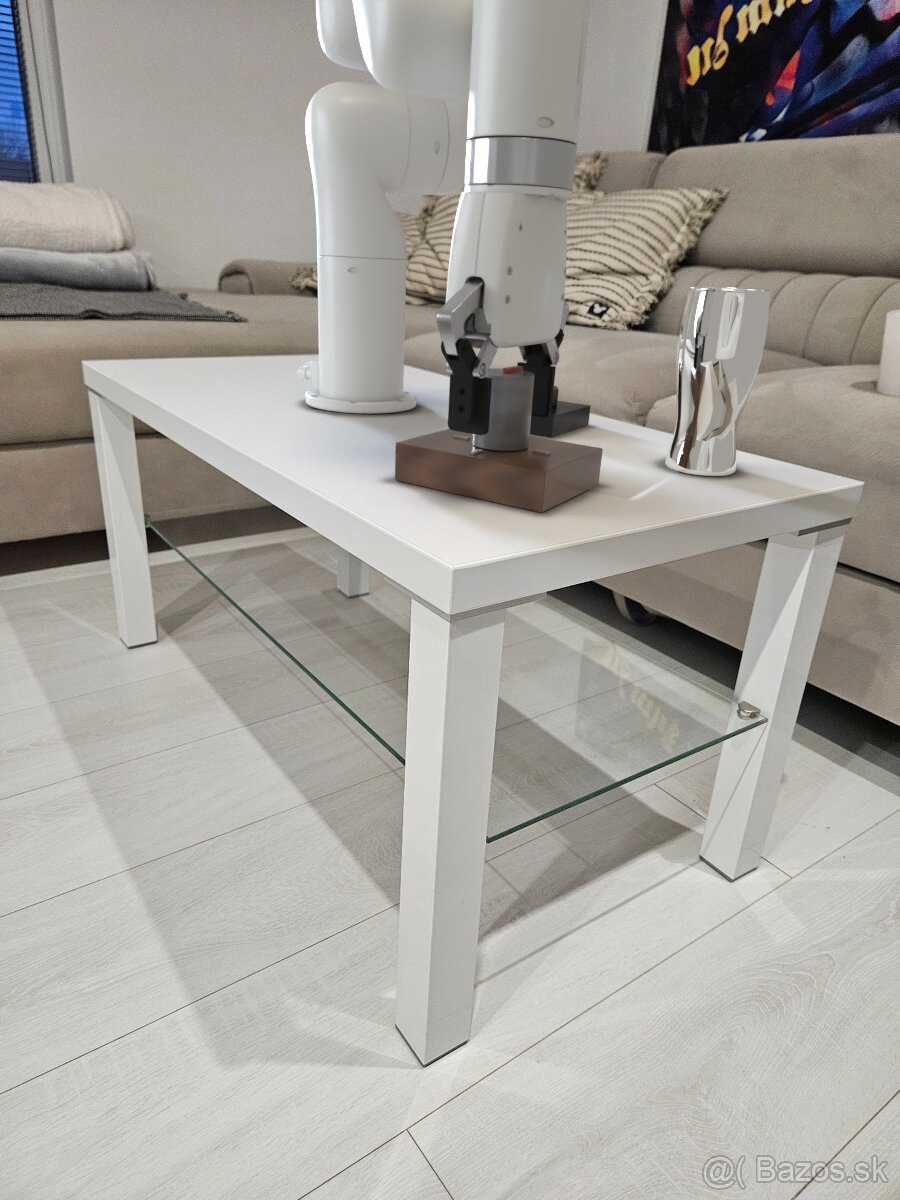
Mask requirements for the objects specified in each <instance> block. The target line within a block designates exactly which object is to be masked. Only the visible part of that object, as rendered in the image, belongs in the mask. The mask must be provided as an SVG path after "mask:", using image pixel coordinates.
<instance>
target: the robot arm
mask: <svg viewBox="0 0 900 1200" xmlns="http://www.w3.org/2000/svg"><path fill="white" fill-rule="evenodd" d="M591 2H592V1H591V0H315V11H316V23H317V25H316V26H317V34H318V39H319V43H320V46H321V48H322V51H323V53H324V54H325V55H326V57H327V58H328V59H329V60H330V61H332V62H333V63H335V64H337V65H339V66H342V67H344V68H349V69H352V70H353V69H354V70H358V71H365V72H369V73H370V75H371V76H372V77H373V79H374V80H375V81H376V82H377V83H373V82H371V83H370V82H362V81H350V80H349V81H338V82H332V83H330V84H329V83H328V84H327V85H325V86H323V87H321V88H320V89H318V90H317V91H316V92H315V93H314V94H313V96H312V97H311V99H310V101H309V103H308V106H307V109H306V114H305V138H306V147H307V153H308V158H309V159H308V160H309V164H310V172H311V177H312V185H313V193H314V204H315V205H314V206H315V224H316V260H317V263H316V265H317V266H316V267H317V270H316V271H317V321H318V323H317V325H318V326H317V327H318V359H314V360H306V361H304V362H303V365H299V366H298V367H297V369H296V376H297V377H298V378H299V379H305V380H311V384H312V385H311V389H309V390H308V391H306V392H305V403H306V405H308V406H310V407H312V408H315V409H319V410H323V411H329V412H335V413H346V414H365V415H367V414H370V415H371V414H375V415H376V414H393V413H402V412H405V411H410V410H413V409H414V408H416V406H417V403H418V402H417V395H415V394H414V393H413V392H410V391H407V390H404V381H405V379H404V378H405V377H404V376H405V339H406V338H405V337H406V335H405V334H406V329H405V328H406V292H407V291H406V290H407V239H406V234H405V230H404V227H403V225H402V223H401V220H400V219H399V217H398V215H397V213H396V211H395V210H394V208H393V207H392V205H391V204H390V202H389V200H388V198H387V197H386V194H394V193H396V194H397V193H400V194H409V195H410V194H411V195H425V196H449V195H453V194H456V193H458V192H460V191H461V190H462V189H463V188H464V191H462V192H461V193H460V198H459V201H458V206H457V210H456V214H455V215H456V216H455V220H454V225H453V232H452V238H451V244H450V252H449V260H448V261H449V262H448V272H447V280H446V281H447V282H446V293H445V303H444V304H443V305H442V306H441V307H440V308H439V309H438V311H436V314H435V315H436V317H435V321H436V325H437V328H438V333H439V337H440V341H441V343H440V351H441V353H442V355H443V357H444V359H445V361H446V362H445V372H446V373H447V374H448V375H449V391H448V393H449V394H448V411H447V412H448V414H447V427H448V429H451V430H454V431H459V432H465V433H470V434H476V435H484V434H487V433H488V431H489V418H490V403H491V387H492V378H487V377H485V376H486V374H487V372H488V370H489V369H490V367H491V365H492V363H493V361H494V358H495V356H496V354H497V353H498V350H499V349H509V348H517V347H518V349H519V352H520V355H521V358H522V361H518V362H517V363H516V364H517V365H516V366H523V371H528V372H532V373H534V374H535V377H534V389H533V401H532V413H531V415H532V416H538V417H548V416H550V415H551V412H552V401H553V391H554V386H555V378H556V368H557V367H556V366H557V365H558V364H559V361H560V351H559V349H560V347H561V345H562V343H563V341H564V337H565V333H564V330H565V328H566V327H565V326H566V323H567V320H568V316H569V314H570V306H569V304H568V303H567V302H566V300H565V292H566V281H567V280H566V279H567V278H566V277H567V276H566V275H567V256H568V205H567V204H568V202H567V201H572V200H573V194H574V193H573V190H574V181H575V180H574V179H575V171H576V169H575V168H576V160H577V150H578V149H577V148H578V147H577V146H578V137H579V126H580V118H581V117H580V116H581V106H582V96H583V95H582V94H583V84H584V73H585V63H586V51H587V42H588V32H589V22H590V21H589V20H590V10H591ZM474 349H479V351H478V353H476V352H475V350H474Z"/></svg>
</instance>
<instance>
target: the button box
mask: <svg viewBox="0 0 900 1200" xmlns="http://www.w3.org/2000/svg"><path fill="white" fill-rule="evenodd" d="M590 414H591V404H590V405H589V404H582V403H577V402H576V403H575V402H570V401H569V402H568V401H562V400H559V387H558V386H556V385H554V391H553V401H552V412H551V415H550V416H548V417H538V416H532V415H531V425H530V436H536V437H537V436H538V437H542V438H548V439H553V438H556V437H558V436H562V435H564V434H567V433H570V432H573V431H576V430H579V429H583V428H584V427H587V426H589V425H590V424H589V422H590Z"/></svg>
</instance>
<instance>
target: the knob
mask: <svg viewBox="0 0 900 1200" xmlns="http://www.w3.org/2000/svg"><path fill="white" fill-rule="evenodd" d="M485 377H487V378H492V387H491V403H490V418H489V431H488V433H487V434H484V435H476V434H473V441H472V443H473V445H475V446H477V447H480V448H483V449H488V450H496V451H518V450H523V449H526V448H528V447H529V437H530V436H531V434H530V425H531V413H532V401H533V389H534V377H535V374H534V373H532V372H528V371H523V366H517V365H514V366H508V367H503V368H497V367H496V368H489V370H488V372H487V374H486V376H485Z"/></svg>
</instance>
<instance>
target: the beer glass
mask: <svg viewBox="0 0 900 1200" xmlns="http://www.w3.org/2000/svg"><path fill="white" fill-rule="evenodd" d="M772 293H773V292H772V290H770V289H762V288H761V289H760V288H750V287H749V288H748V287H732V286H715V285H714V286H713V285H689V286H688V290H687V294H686V300H685V304H684V307H683V312H682V318H681V322H680V327H679V331H678V338H677V339H678V340H677V347H676V359H675V360H676V361H675V362H676V363H675V364H676V365H675V387H676V388H675V389H676V415H675V416H676V418H675V427H674V432H673V435H672V439H671V442H670V446H669V448H668V451H667V454H666V457H665V461H664V463H665V466H666V467H667V468H668V469H671V470H674V471H677V472H680V473H684V474H688V475H695V476H701V477H702V476H703V477H725V476H730V475H733V474H734V473H735V472H736V471H737V442H738V441H737V440H738V432H739V428H740V424H741V420H742V417H743V414H744V411H745V408H746V406H747V403H748V400H749V398H750V395H751V393H752V389H753V387H754V383H755V381H756V378H757V376H758V372H759V369H760V366H761V363H762V358H763V355H764V349H765V344H766V338H767V333H768V332H767V331H768V325H769V315H770V305H771V297H772Z"/></svg>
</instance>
